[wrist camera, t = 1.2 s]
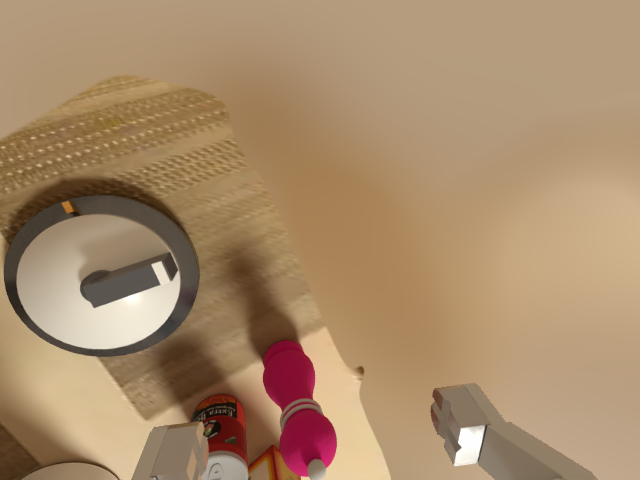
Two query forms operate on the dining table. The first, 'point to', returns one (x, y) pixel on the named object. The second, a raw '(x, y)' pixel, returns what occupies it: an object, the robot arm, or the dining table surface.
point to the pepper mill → (298, 411)
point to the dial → (99, 281)
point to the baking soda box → (270, 467)
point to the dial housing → (117, 207)
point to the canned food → (223, 437)
